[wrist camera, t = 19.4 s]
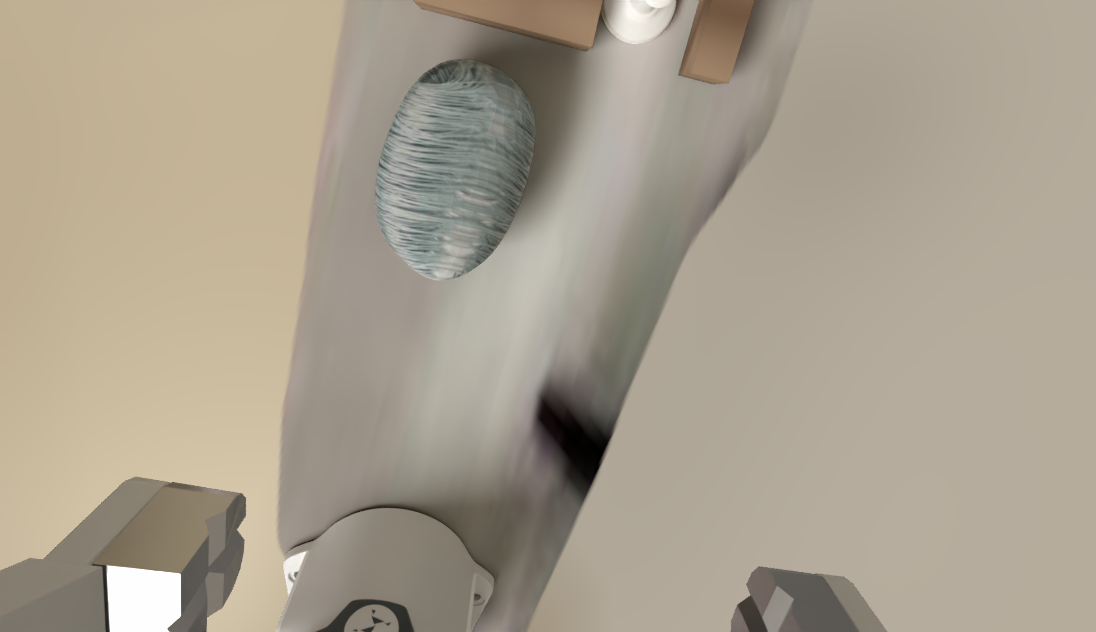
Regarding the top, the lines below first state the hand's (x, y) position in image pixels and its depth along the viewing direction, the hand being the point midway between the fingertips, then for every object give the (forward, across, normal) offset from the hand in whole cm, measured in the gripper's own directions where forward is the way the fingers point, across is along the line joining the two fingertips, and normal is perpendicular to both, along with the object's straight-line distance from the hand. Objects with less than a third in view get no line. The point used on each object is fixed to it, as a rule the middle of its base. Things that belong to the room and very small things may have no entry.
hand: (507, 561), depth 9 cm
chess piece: (+34, -5, -14) cm, 38 cm away
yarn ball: (+34, +4, -2) cm, 35 cm away
